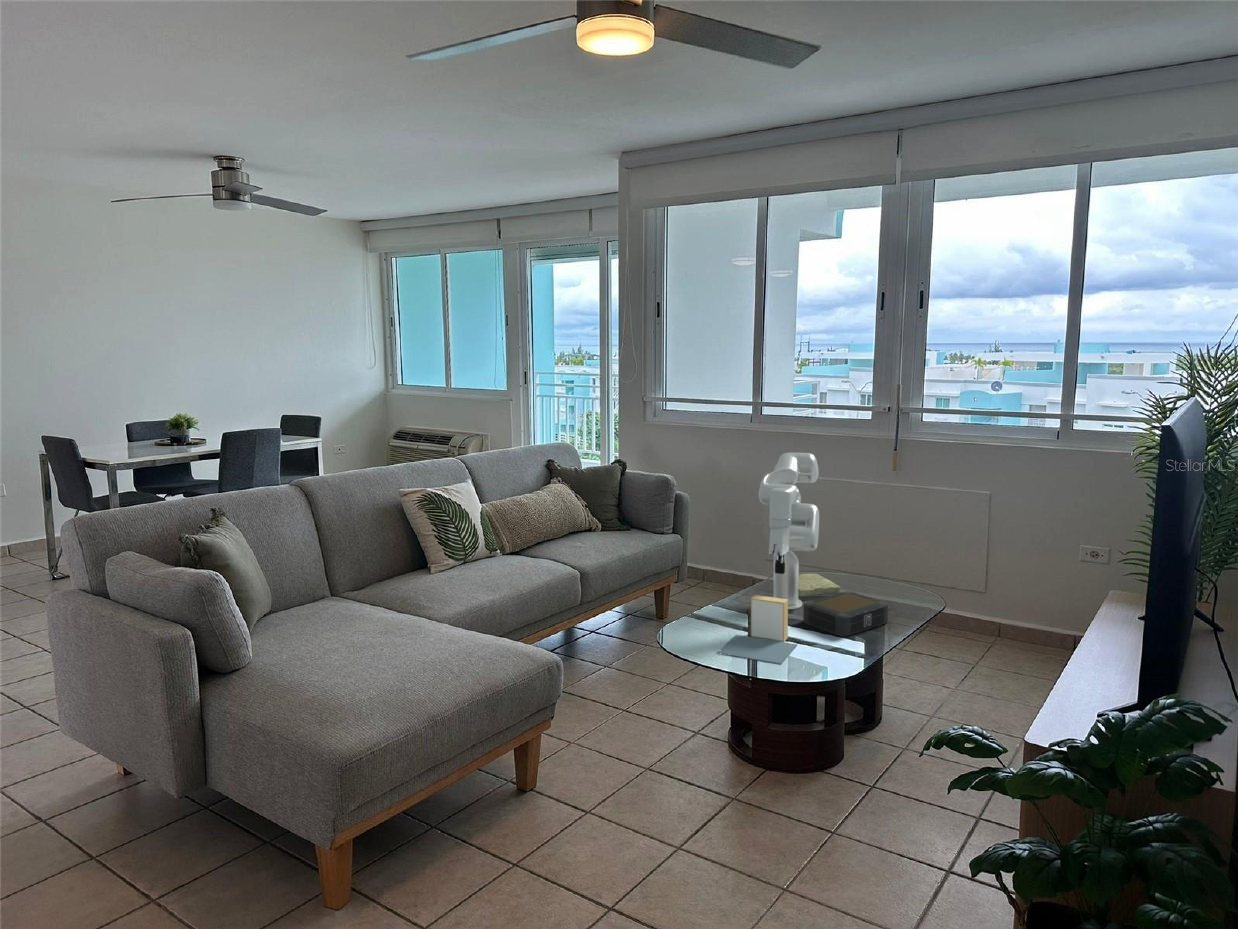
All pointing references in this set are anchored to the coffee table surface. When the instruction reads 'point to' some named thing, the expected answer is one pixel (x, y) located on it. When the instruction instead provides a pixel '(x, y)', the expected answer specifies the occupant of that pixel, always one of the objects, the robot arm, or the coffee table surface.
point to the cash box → (845, 613)
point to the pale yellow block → (769, 618)
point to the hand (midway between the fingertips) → (779, 573)
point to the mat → (758, 649)
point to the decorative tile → (815, 585)
